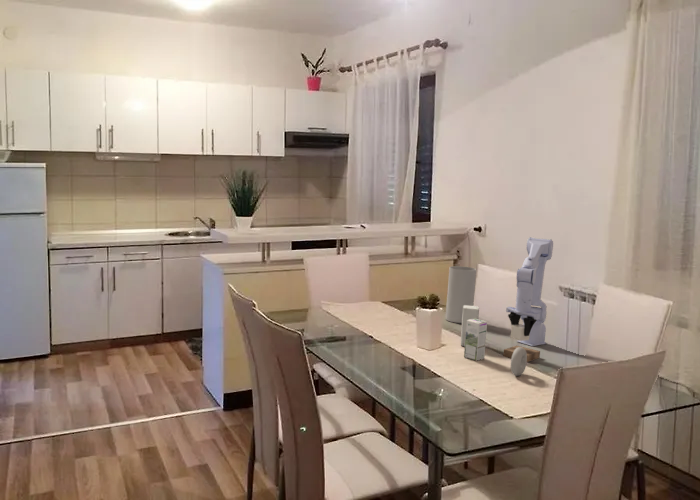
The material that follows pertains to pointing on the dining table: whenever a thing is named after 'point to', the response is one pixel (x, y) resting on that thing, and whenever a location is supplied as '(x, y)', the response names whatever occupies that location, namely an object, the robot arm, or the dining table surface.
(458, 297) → the cylinder vase
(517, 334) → the cube
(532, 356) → the slab
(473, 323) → the syrup box
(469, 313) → the skincare box
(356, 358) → the dining table surface
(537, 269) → the robot arm
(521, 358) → the donut
